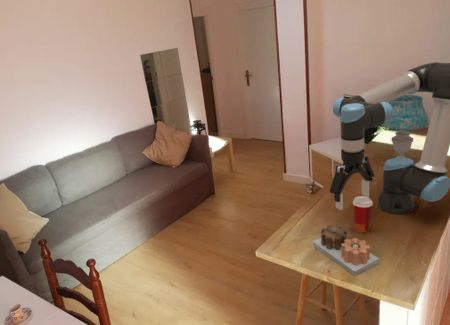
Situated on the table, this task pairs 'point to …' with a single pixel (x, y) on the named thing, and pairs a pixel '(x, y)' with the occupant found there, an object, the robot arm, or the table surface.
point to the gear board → (336, 257)
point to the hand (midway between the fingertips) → (352, 202)
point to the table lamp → (406, 121)
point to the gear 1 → (333, 237)
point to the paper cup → (362, 213)
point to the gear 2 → (355, 251)
